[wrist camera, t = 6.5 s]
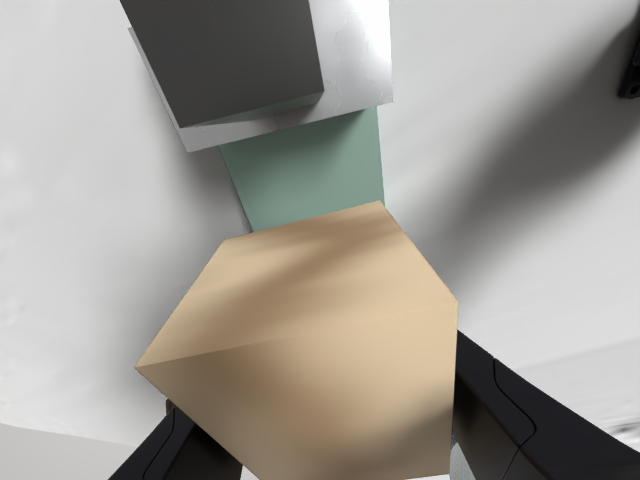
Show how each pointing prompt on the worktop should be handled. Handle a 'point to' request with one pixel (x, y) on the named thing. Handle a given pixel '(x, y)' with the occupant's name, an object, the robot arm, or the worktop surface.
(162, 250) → the worktop surface
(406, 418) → the block
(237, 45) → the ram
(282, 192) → the press frame
